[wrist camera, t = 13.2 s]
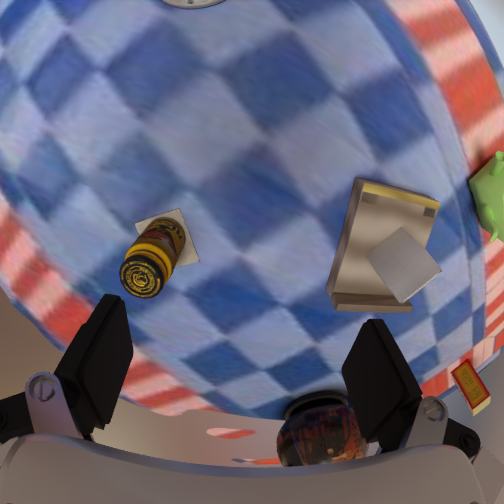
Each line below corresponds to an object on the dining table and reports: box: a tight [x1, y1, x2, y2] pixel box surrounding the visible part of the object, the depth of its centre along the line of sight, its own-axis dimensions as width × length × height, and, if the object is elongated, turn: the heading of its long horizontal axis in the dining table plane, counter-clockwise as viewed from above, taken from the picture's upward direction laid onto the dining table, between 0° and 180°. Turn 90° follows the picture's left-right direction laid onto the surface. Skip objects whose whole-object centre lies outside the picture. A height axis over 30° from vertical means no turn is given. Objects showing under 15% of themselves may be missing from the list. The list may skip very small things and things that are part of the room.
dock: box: [326, 177, 441, 313], centre depth 37 cm, size 18×14×6 cm
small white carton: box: [365, 227, 442, 304], centre depth 33 cm, size 4×7×10 cm, turn 131°
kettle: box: [469, 151, 504, 243], centre depth 31 cm, size 15×14×11 cm
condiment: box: [119, 209, 199, 299], centre depth 34 cm, size 7×8×12 cm
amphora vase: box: [276, 392, 369, 467], centre depth 47 cm, size 22×22×28 cm
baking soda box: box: [451, 359, 490, 416], centre depth 53 cm, size 10×6×16 cm
